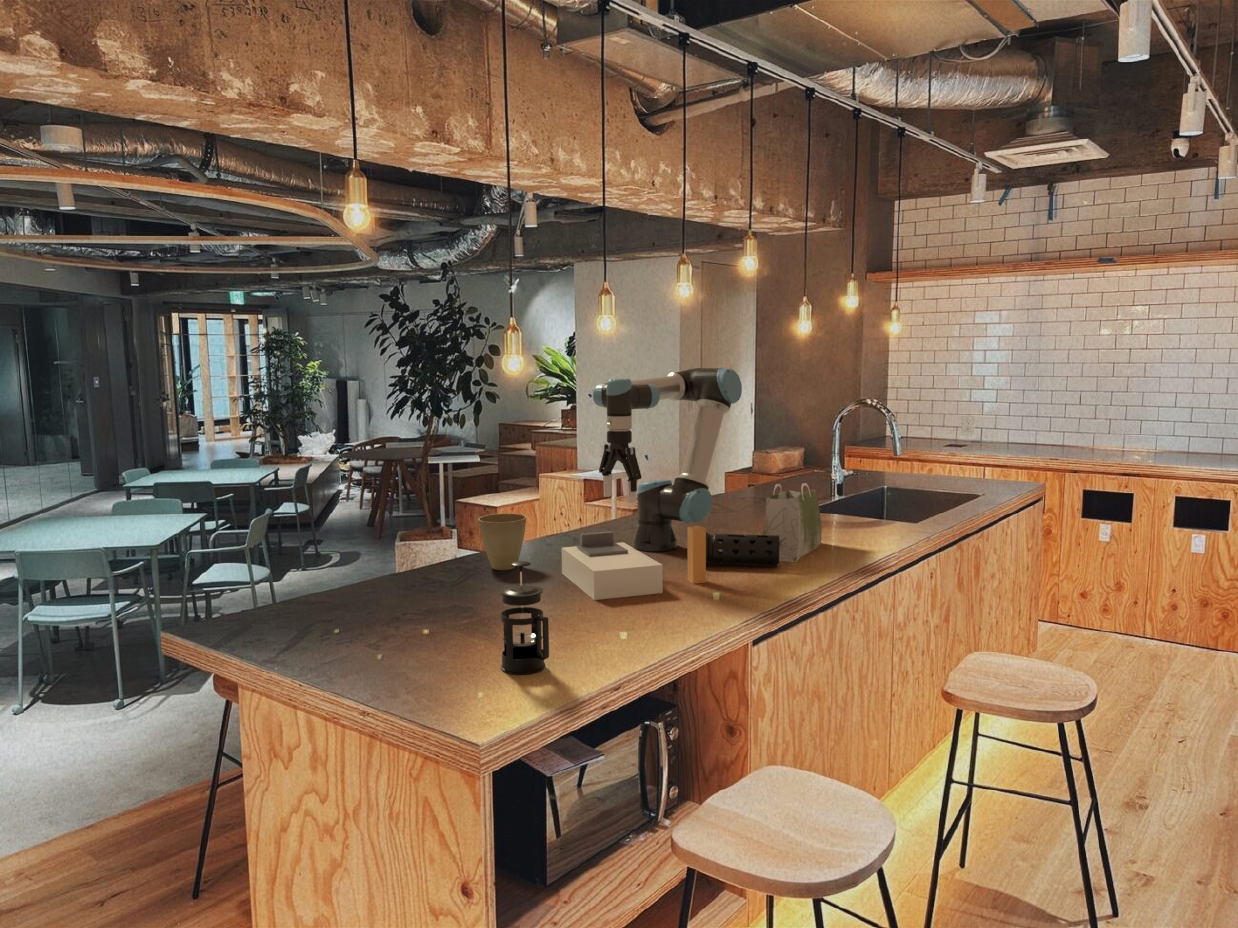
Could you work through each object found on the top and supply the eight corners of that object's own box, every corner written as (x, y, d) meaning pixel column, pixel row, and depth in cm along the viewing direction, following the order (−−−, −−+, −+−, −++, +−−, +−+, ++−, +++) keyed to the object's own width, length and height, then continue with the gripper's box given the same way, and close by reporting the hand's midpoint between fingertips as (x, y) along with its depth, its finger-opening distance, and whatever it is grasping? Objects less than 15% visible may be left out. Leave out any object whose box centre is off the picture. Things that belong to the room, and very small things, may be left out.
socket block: (561, 573, 274) (561, 547, 273) (623, 567, 281) (623, 542, 280) (594, 599, 244) (593, 571, 244) (662, 592, 251) (662, 564, 250)
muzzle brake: (778, 571, 275) (778, 537, 274) (687, 567, 281) (687, 535, 279) (779, 564, 284) (779, 531, 283) (690, 560, 290) (691, 529, 289)
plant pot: (489, 561, 291) (487, 512, 289) (533, 562, 288) (532, 513, 286) (472, 572, 277) (471, 521, 275) (518, 574, 274) (517, 522, 272)
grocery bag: (784, 540, 320) (785, 475, 317) (823, 543, 314) (824, 477, 311) (755, 558, 291) (756, 488, 289) (797, 563, 285) (798, 490, 282)
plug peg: (687, 580, 264) (687, 526, 262) (700, 579, 266) (700, 525, 264) (693, 583, 261) (693, 529, 259) (705, 582, 262) (705, 528, 260)
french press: (489, 669, 192) (486, 563, 189) (517, 656, 200) (514, 554, 197) (533, 679, 185) (531, 570, 183) (560, 666, 193) (558, 561, 190)
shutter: (576, 547, 272) (576, 533, 271) (614, 544, 276) (614, 531, 275) (588, 556, 261) (588, 541, 260) (627, 552, 265) (627, 538, 264)
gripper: (587, 427, 281) (588, 495, 284) (631, 433, 260) (632, 505, 263) (608, 426, 285) (608, 493, 288) (653, 432, 264) (653, 503, 267)
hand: (619, 499), depth 275 cm, fingers open, 13 cm apart
